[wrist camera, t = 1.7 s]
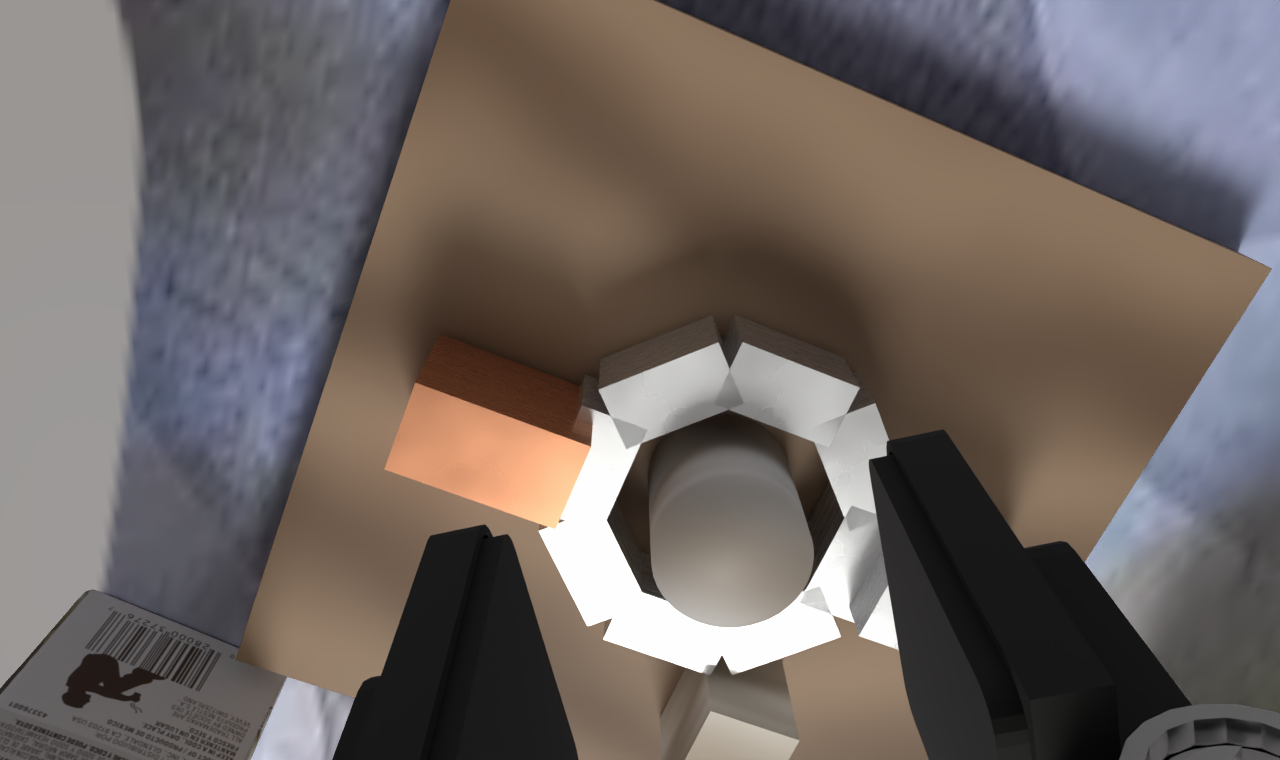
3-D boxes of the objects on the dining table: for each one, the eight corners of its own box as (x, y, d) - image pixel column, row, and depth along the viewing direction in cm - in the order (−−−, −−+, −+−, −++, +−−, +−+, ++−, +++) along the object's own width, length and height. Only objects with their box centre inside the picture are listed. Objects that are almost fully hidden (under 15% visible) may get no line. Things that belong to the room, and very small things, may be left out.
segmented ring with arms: (1070, 446, 27) (1125, 506, 24) (915, 701, 30) (947, 783, 27) (482, 215, 25) (462, 250, 22) (374, 515, 28) (343, 582, 25)
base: (484, -75, 24) (445, -84, 19) (1238, 252, 27) (1380, 321, 22) (252, 628, 31) (178, 762, 26) (878, 830, 34) (923, 985, 29)
